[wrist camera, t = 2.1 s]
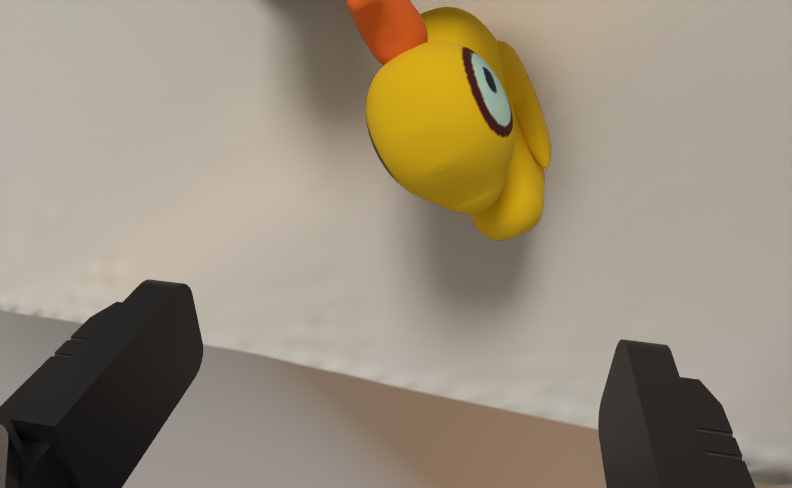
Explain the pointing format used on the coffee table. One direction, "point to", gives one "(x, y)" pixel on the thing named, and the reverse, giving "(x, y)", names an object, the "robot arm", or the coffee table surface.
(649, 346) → the robot arm
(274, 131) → the coffee table surface
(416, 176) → the duckling
